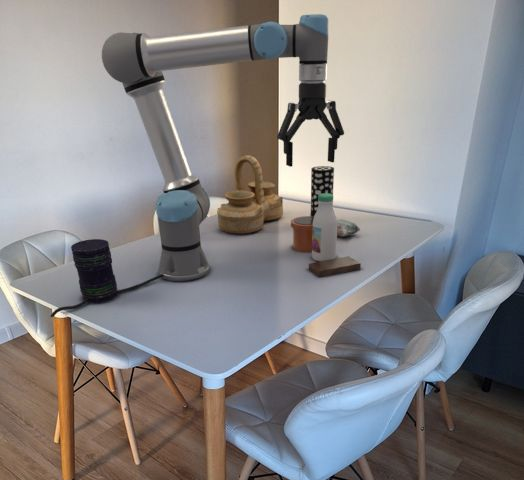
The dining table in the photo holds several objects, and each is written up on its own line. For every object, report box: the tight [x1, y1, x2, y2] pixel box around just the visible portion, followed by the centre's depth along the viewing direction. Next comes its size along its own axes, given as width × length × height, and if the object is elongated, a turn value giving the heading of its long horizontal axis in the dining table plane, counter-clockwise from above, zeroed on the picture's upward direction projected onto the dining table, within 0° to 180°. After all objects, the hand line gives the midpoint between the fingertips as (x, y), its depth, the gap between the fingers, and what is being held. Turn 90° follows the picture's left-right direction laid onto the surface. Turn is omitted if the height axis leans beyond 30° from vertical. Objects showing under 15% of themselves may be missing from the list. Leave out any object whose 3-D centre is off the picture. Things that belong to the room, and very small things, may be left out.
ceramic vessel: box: [216, 155, 284, 234], centre depth 194 cm, size 34×18×25 cm, turn 154°
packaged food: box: [337, 219, 361, 238], centre depth 183 cm, size 9×12×5 cm
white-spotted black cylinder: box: [310, 165, 335, 216], centre depth 194 cm, size 8×8×20 cm
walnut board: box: [308, 255, 362, 278], centre depth 155 cm, size 14×7×2 cm, turn 112°
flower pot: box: [290, 215, 314, 253], centre depth 172 cm, size 11×11×9 cm
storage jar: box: [70, 238, 119, 305], centre depth 140 cm, size 10×10×15 cm
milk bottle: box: [311, 193, 338, 262], centre depth 159 cm, size 8×8×20 cm
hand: (310, 163), depth 150 cm, fingers open, 13 cm apart
